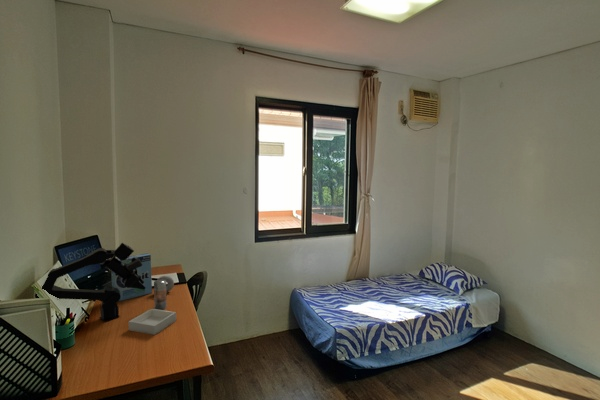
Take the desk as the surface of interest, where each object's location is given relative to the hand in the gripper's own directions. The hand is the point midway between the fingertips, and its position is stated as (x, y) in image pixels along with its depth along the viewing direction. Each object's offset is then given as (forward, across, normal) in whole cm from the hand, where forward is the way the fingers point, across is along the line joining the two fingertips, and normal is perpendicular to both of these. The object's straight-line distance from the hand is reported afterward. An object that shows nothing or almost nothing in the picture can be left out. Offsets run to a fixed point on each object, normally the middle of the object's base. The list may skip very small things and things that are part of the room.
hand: (144, 285), depth 157 cm
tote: (+11, -18, +8) cm, 23 cm away
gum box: (+6, +24, +12) cm, 28 cm away
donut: (+18, +22, +1) cm, 28 cm away
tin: (+14, 0, +4) cm, 15 cm away
